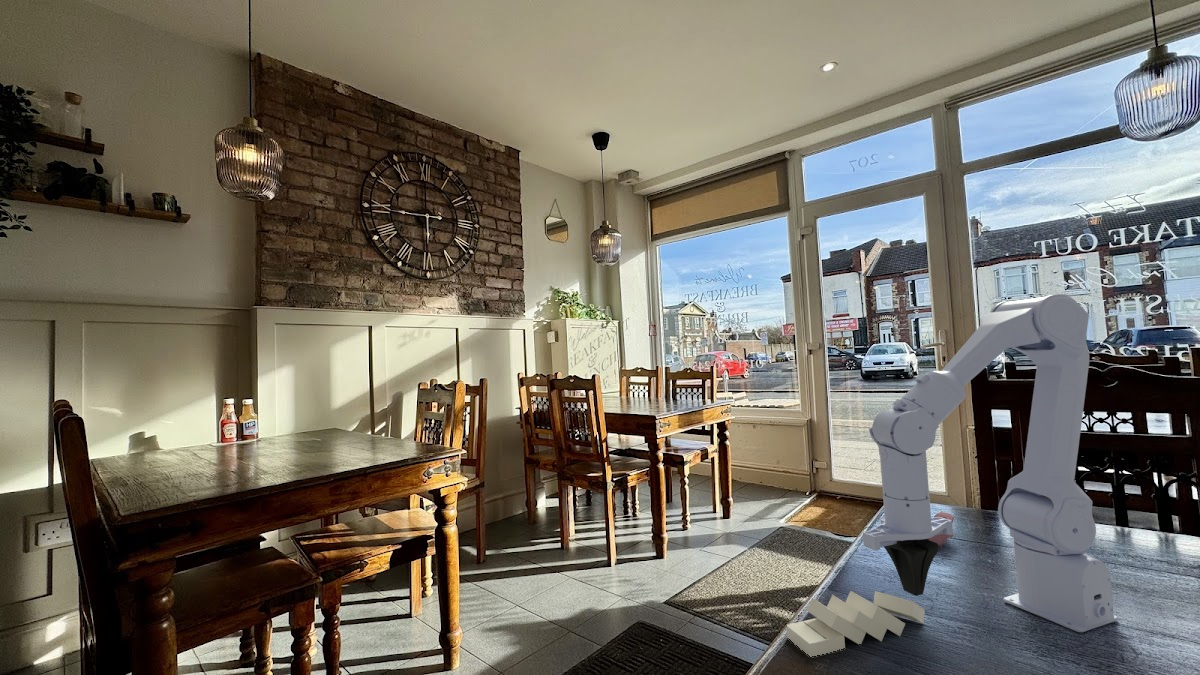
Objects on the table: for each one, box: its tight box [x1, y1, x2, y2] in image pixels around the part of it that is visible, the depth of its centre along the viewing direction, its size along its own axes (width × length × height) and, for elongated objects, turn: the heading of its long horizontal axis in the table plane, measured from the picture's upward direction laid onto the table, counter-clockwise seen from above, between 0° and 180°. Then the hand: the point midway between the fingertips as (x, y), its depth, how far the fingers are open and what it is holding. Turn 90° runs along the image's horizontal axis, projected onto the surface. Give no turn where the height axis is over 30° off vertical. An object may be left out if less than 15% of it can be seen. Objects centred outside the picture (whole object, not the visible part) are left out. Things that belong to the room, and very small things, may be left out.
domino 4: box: [844, 590, 906, 637], centre depth 69 cm, size 5×2×5 cm
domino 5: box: [872, 590, 926, 625], centre depth 70 cm, size 5×2×5 cm
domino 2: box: [806, 597, 867, 645], centre depth 67 cm, size 5×2×5 cm
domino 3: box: [826, 594, 888, 642], centre depth 68 cm, size 5×2×5 cm
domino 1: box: [785, 617, 846, 658], centre depth 66 cm, size 5×2×5 cm
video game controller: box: [929, 510, 955, 548], centre depth 97 cm, size 10×5×7 cm, turn 143°
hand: (913, 592), depth 71 cm, fingers closed
